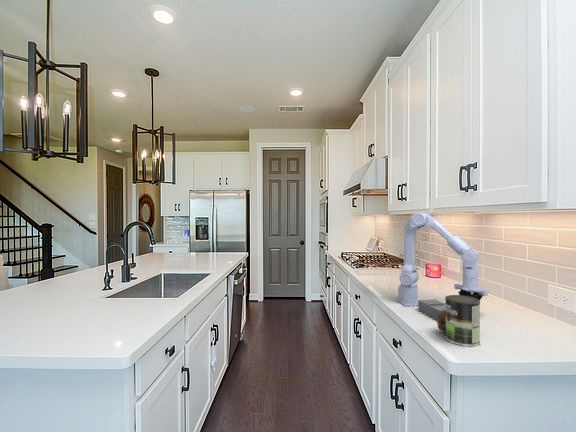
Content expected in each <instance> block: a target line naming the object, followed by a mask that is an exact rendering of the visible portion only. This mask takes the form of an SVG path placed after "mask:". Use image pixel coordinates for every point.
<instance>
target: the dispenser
mask: <svg viewBox="0 0 576 432" xmlns="http://www.w3.org/2000/svg"><path fill="white" fill-rule="evenodd" d="M417 309H418V311H420V312H421V313H422V314H424V315H426V316H428V317H430V318H431V317H432V318H431V319H433V320H435V321H437V316H438V314H439V313H440V312H441V311H442V310H445V309H446V302H444V301H441V300H439V299H437V298H434V299H418V308H417Z"/></svg>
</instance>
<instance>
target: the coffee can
mask: <svg viewBox="0 0 576 432" xmlns="http://www.w3.org/2000/svg"><path fill="white" fill-rule="evenodd" d="M444 299H445V303H446V333H445V339H446V340H447V342H450V343H451V344H454V345H458V346H460V347H461V346H462V347H469V348H470V347H471V348H473V347H477V346H479V345H481V337H480V335H481V333H480V332H481V331H480V329H481V328H480V327H481V326H480V325H481V321H480V319H481V318H480V314H481V312H480V306H481V305H480V304H481V300H479V299H477V298H474V297H469V296H463V295H459V294H450V295H446V296H445V297H444Z"/></svg>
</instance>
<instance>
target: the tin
mask: <svg viewBox="0 0 576 432" xmlns="http://www.w3.org/2000/svg"><path fill="white" fill-rule="evenodd" d="M436 325H437V327H438V329H439V330H440V331H441V332H443V333H445V334H446V309H445V310H442V311H441V312H440V313H439V314H438V316H437V320H436Z"/></svg>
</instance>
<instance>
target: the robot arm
mask: <svg viewBox="0 0 576 432" xmlns="http://www.w3.org/2000/svg"><path fill="white" fill-rule="evenodd" d="M423 227H425V228H429V229H432V230H434V231H435V232H436V233H438V235H440V236H441V237H443V239H444V240H446V242H447V246H448V247H449V248H451V250H453V252H455V253H456V255H458V256H460V259H461V260H462V284H459V283H456V284H454V285H453V286H454V287H453V289H454V290H460V291H458V295H463V296H469V297H474V298H477V299H479V300H480V301H481V300H482V298H483V297H487V296H489V291H488V290H485V289H482V288H480V287H479V266H478V265H479V262H478V259H479V253H478V251H477V249H475V248H473V246H472V245H471V244H470V245H469V244H467V242H466V241H464V238H463V237H462V236H459V235H453V234H452V233H451V232H450V231H449V230H448V229H447V228H446V227H445V226H444V225H442V224H441V223H440V222H439V221H438V219H436V218H435V217H433V216H432V215H430V213H429V212H425V211H423V212H419V211H417V212H415V213H414V214H412V215H410V216H409V219H408V221H407V222H406V224H405V225H404V229H403V264H402V268H401V273H400V275H399V277H398V278H399V282H400V283H401V284H399V285H398V288H397V292H398V294H397V296H398V299H396V302H398V303H399V304H401V305H403V306H404V307H416V306H418V300H419V299H418V298H419V297H418V296H419V295H418V283H417V282H418V281H419V273H418V271H417V270H418V267H417V266H416V238H417V237H416V235H417V234H416V233H417V232H418V231H419V230H420V229H421V228H423Z"/></svg>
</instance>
